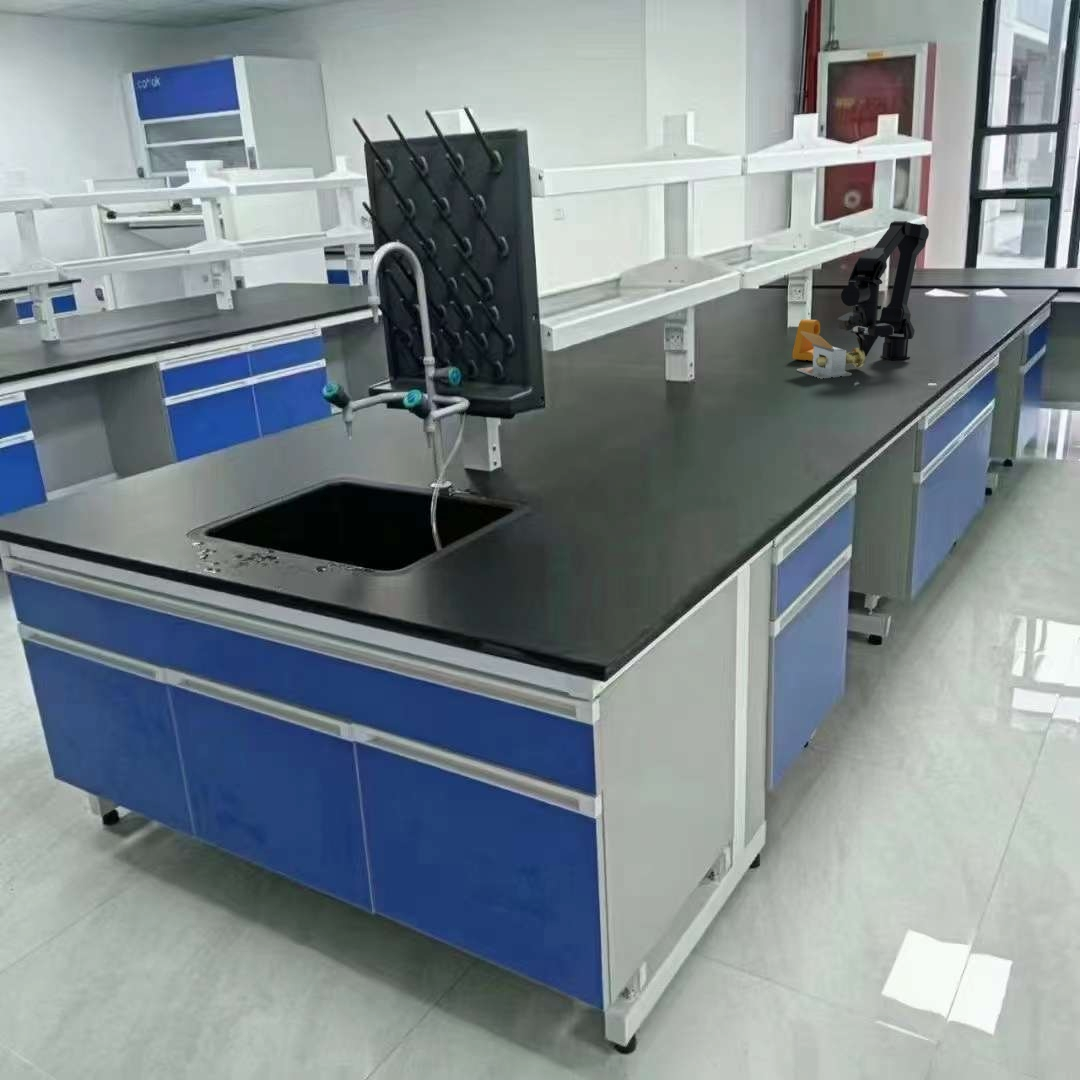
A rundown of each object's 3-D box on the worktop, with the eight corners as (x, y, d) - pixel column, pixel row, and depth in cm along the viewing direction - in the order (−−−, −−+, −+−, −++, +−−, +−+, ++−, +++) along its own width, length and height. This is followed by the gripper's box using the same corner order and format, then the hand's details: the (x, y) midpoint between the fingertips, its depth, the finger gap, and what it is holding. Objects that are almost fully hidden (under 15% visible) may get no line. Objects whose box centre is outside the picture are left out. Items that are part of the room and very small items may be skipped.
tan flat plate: (813, 346, 302) (815, 343, 302) (832, 352, 293) (835, 349, 292) (798, 333, 299) (801, 330, 299) (817, 339, 290) (820, 335, 290)
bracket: (813, 363, 314) (815, 323, 310) (792, 361, 318) (794, 321, 314) (830, 357, 321) (832, 318, 317) (809, 355, 326) (811, 316, 322)
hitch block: (827, 367, 307) (828, 343, 304) (851, 375, 295) (853, 350, 293) (796, 370, 304) (798, 346, 302) (820, 378, 293) (821, 354, 290)
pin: (853, 365, 305) (854, 345, 303) (864, 368, 300) (865, 349, 298) (812, 369, 302) (813, 350, 300) (823, 373, 297) (824, 353, 295)
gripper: (825, 300, 303) (822, 353, 308) (861, 308, 286) (858, 364, 291) (858, 297, 306) (855, 350, 311) (896, 304, 289) (892, 360, 294)
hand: (864, 356), depth 302 cm, fingers closed
